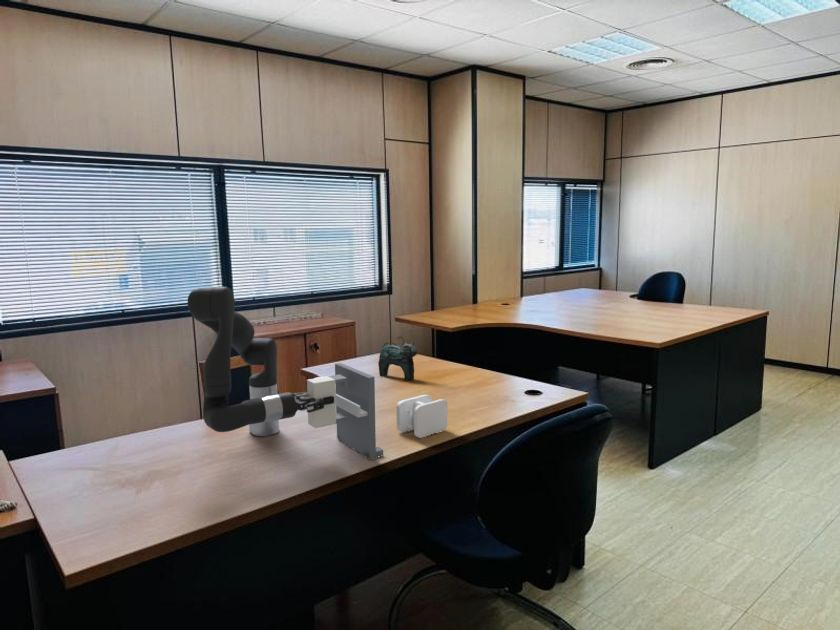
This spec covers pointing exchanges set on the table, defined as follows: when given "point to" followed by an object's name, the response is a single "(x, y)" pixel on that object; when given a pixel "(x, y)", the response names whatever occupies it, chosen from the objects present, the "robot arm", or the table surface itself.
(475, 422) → the table surface
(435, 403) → the cable organizer
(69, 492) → the table surface
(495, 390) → the table surface
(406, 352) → the ceramic cat
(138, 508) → the table surface
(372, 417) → the wall board
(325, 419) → the white block
